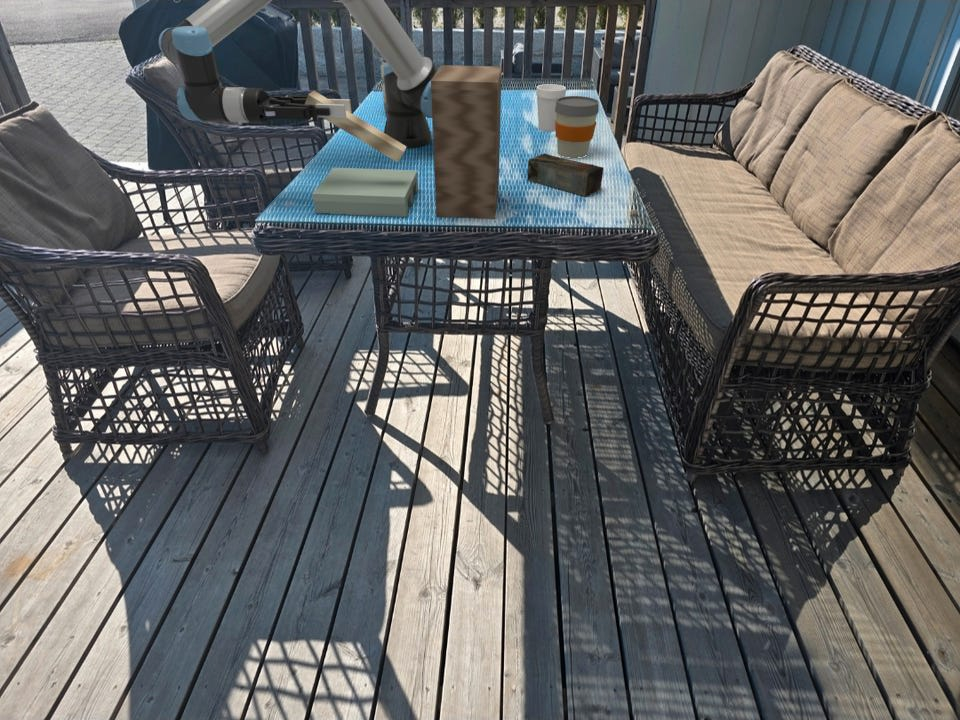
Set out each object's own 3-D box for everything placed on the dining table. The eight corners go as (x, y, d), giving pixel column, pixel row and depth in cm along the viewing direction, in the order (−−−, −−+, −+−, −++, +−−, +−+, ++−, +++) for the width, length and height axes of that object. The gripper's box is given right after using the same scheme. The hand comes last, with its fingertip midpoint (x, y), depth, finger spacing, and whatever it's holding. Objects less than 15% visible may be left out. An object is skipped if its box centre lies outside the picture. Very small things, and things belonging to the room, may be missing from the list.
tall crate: (436, 216, 142) (430, 80, 124) (444, 191, 155) (440, 65, 137) (494, 218, 141) (497, 82, 123) (498, 193, 154) (501, 66, 136)
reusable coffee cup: (544, 155, 179) (547, 102, 170) (563, 144, 187) (568, 93, 178) (582, 163, 173) (588, 109, 164) (600, 152, 182) (606, 99, 173)
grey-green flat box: (315, 213, 143) (312, 193, 140) (336, 186, 158) (333, 167, 155) (406, 217, 142) (404, 197, 139) (418, 189, 156) (417, 170, 153)
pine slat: (303, 106, 135) (308, 94, 133) (309, 102, 138) (313, 90, 137) (398, 162, 141) (403, 151, 139) (401, 157, 144) (406, 146, 143)
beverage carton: (542, 173, 167) (544, 149, 163) (602, 190, 157) (605, 165, 153) (525, 181, 162) (527, 156, 158) (586, 199, 152) (589, 173, 148)
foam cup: (558, 134, 196) (562, 91, 188) (531, 131, 198) (533, 89, 191) (564, 126, 203) (568, 85, 195) (538, 123, 206) (541, 83, 198)
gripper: (265, 112, 147) (358, 115, 146) (237, 132, 133) (340, 136, 132) (258, 79, 142) (355, 82, 141) (229, 97, 129) (335, 100, 127)
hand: (347, 108), depth 137 cm, fingers closed on pine slat, 4 cm apart
